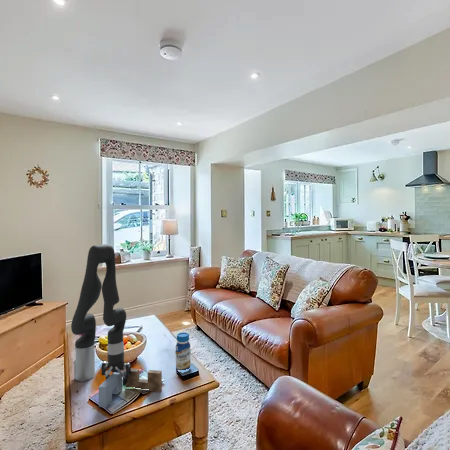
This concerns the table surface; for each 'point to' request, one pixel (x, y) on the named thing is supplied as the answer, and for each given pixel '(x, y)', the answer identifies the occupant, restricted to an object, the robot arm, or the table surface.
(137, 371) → the u-shaped brown bracket
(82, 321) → the robot arm
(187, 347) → the beverage bottle
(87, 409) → the table surface
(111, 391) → the grey block
